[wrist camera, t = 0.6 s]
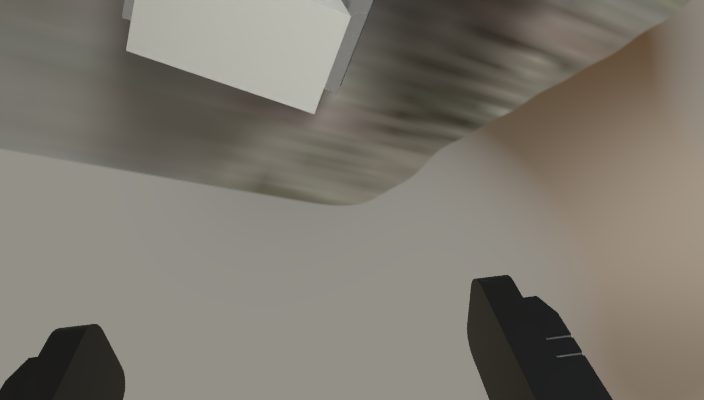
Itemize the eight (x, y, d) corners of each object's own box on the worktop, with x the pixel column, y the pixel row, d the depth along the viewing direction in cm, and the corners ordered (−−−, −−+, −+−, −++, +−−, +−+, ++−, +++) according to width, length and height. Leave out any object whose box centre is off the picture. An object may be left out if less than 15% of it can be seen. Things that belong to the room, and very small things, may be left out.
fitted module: (183, -73, 26) (145, -68, 19) (336, -9, 28) (350, 16, 22) (165, 17, 28) (125, 50, 21) (308, 69, 31) (314, 113, 24)
